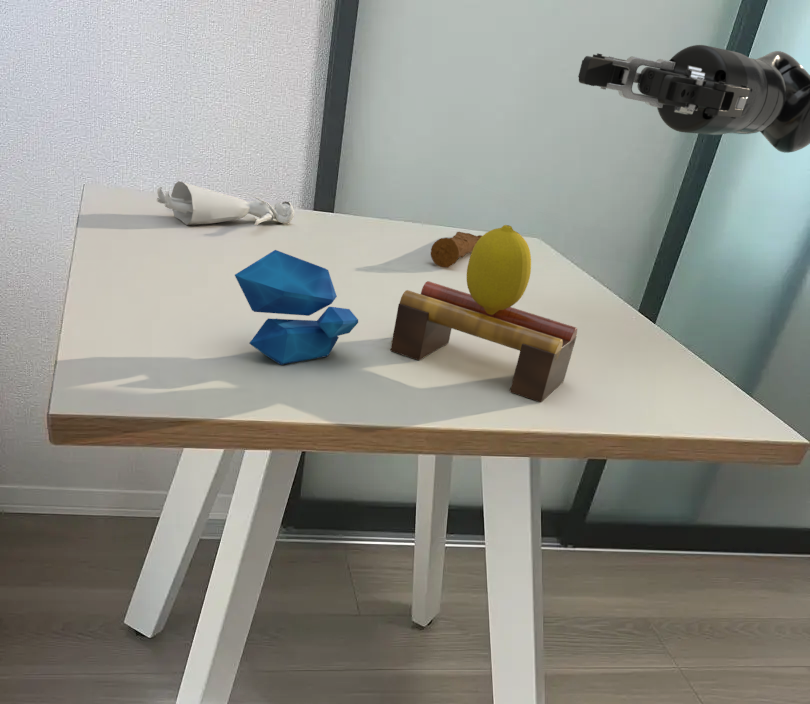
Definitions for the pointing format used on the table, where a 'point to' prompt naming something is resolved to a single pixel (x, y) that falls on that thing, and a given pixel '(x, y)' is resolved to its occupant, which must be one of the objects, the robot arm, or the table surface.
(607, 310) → the table surface
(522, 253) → the lemon
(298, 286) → the blue crystals
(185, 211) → the woman figurine
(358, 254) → the table surface
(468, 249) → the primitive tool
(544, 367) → the rod rack
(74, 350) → the table surface
